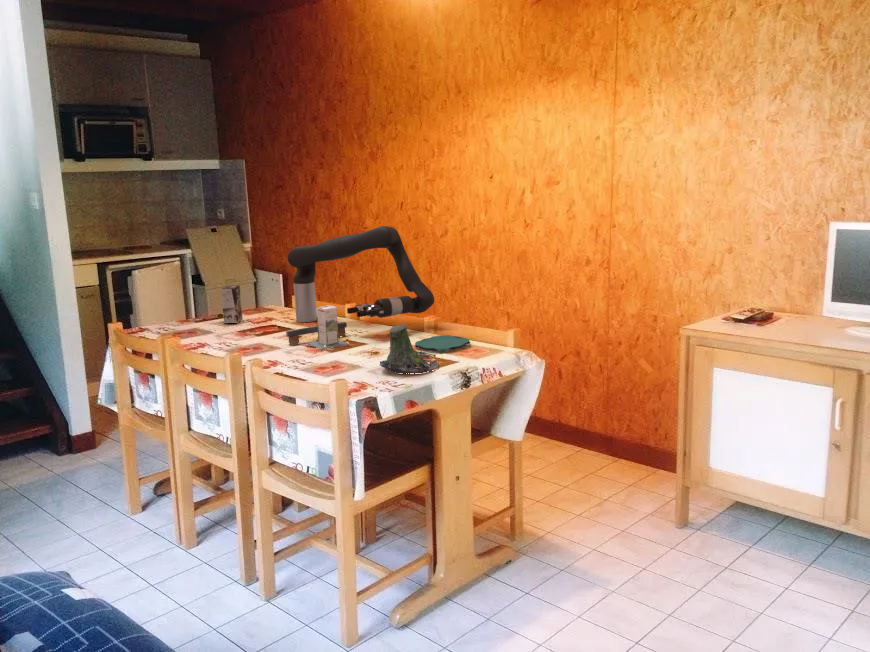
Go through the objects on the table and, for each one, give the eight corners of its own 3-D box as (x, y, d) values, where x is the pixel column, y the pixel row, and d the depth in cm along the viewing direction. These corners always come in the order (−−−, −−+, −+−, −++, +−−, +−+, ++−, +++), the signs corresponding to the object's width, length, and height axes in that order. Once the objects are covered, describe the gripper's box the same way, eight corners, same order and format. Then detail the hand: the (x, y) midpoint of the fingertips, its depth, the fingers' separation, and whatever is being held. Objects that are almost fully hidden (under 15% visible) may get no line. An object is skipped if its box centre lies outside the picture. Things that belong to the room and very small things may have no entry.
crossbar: (286, 336, 293) (286, 331, 293) (344, 326, 306) (344, 321, 306) (288, 337, 292) (288, 331, 291) (346, 327, 304) (346, 322, 304)
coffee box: (238, 324, 336) (234, 288, 333) (223, 324, 336) (220, 288, 333) (243, 319, 345) (240, 284, 341) (229, 320, 345) (225, 285, 342)
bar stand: (289, 344, 295) (288, 335, 294) (342, 335, 307) (341, 326, 306) (292, 345, 292) (291, 336, 292) (345, 336, 304) (345, 327, 304)
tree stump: (451, 370, 252) (439, 321, 245) (400, 395, 243) (387, 345, 237) (424, 356, 267) (412, 310, 260) (375, 379, 259) (361, 332, 252)
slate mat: (307, 344, 293) (307, 343, 293) (335, 339, 299) (335, 338, 299) (320, 350, 283) (320, 349, 283) (349, 345, 289) (349, 343, 289)
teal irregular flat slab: (479, 344, 283) (479, 338, 282) (424, 363, 262) (423, 357, 261) (441, 338, 296) (440, 332, 296) (385, 355, 275) (384, 349, 275)
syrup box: (330, 341, 295) (327, 304, 292) (339, 343, 291) (336, 306, 288) (318, 343, 291) (315, 307, 288) (327, 346, 287) (324, 308, 284)
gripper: (379, 295, 308) (343, 300, 300) (396, 300, 296) (360, 305, 288) (380, 313, 310) (344, 319, 301) (397, 319, 298) (361, 325, 290)
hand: (352, 312), depth 295 cm, fingers open, 8 cm apart
